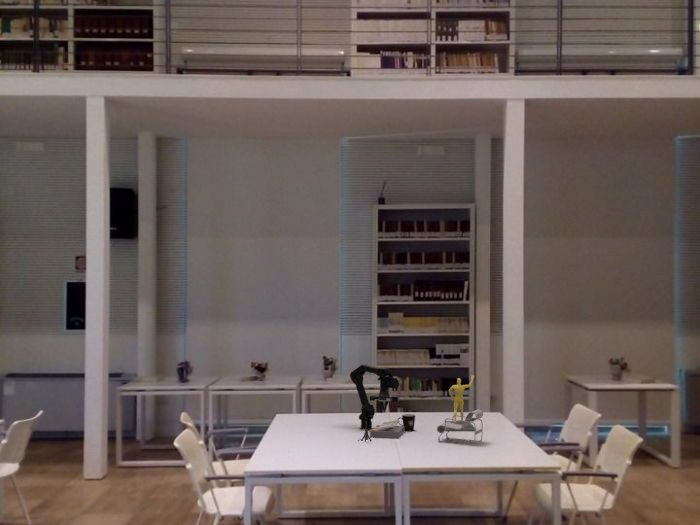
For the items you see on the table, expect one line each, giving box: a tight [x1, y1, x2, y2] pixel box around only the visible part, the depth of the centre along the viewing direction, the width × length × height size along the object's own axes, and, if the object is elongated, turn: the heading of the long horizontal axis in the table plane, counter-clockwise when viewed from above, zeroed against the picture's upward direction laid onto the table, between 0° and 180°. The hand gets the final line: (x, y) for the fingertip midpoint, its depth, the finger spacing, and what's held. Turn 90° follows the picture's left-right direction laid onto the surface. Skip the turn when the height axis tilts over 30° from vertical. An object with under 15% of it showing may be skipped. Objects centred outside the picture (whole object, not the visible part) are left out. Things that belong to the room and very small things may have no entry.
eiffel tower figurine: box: [360, 421, 373, 443], centre depth 490 cm, size 15×10×13 cm
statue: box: [446, 375, 476, 432], centre depth 531 cm, size 20×19×36 cm
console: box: [369, 424, 406, 440], centre depth 509 cm, size 18×22×5 cm
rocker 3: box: [379, 424, 397, 429], centre depth 502 cm, size 10×4×1 cm, turn 77°
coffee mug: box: [397, 413, 416, 432], centre depth 524 cm, size 12×9×10 cm
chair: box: [436, 408, 484, 446], centre depth 486 cm, size 13×25×20 cm, turn 62°
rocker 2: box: [380, 422, 399, 426], centre depth 509 cm, size 10×4×1 cm, turn 77°
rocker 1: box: [382, 419, 400, 424], centre depth 515 cm, size 10×4×1 cm, turn 77°
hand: (384, 411), depth 520 cm, fingers closed
